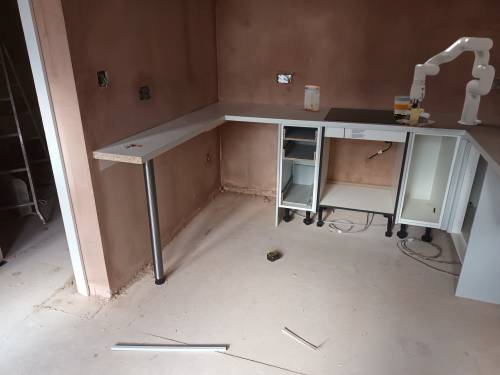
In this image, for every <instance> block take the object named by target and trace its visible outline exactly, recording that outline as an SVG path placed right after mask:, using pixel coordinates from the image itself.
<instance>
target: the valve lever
mask: <svg viewBox="0 0 500 375" xmlns="http://www.w3.org/2000/svg"><path fill="white" fill-rule="evenodd" d="M412 106H413V103H409V104H408V108H409V109H413V108H412ZM420 106H421V104H420V103H418V107H417V109H419V108H420ZM420 109H421V108H420Z"/></svg>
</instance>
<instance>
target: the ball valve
mask: <svg viewBox="0 0 500 375" xmlns="http://www.w3.org/2000/svg"><path fill="white" fill-rule="evenodd" d="M410 109H411V110H409V109H408V110H406V111H405V115H408V116H410V121H414V122H420V121H421V118H425V119H428V120H429V119H430V116H431V114H430V113H428V112H425V109H424V108H419V109H413V108H410Z"/></svg>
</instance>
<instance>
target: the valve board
mask: <svg viewBox="0 0 500 375" xmlns="http://www.w3.org/2000/svg"><path fill="white" fill-rule="evenodd" d="M397 122H398V124H402V123H405V124H404V125H407V124H410V125H409V126H412V125H415V126H414V127H417V126H420V127H419V128H422V127H421V126H423V127H427V126H431V125H434V124H436V121H435V120H431V119H430V120H429V119H425V118H421V121H420V122H414V121H410V116H408V115H406V116H404V118H403V119H402V118H401V119H396V122H395V123H397Z"/></svg>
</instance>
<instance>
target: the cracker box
mask: <svg viewBox="0 0 500 375" xmlns="http://www.w3.org/2000/svg"><path fill="white" fill-rule="evenodd" d="M320 96H321V86H317V85H311V84H310V85H305V86H304V104H303V105H304V106H303V108H304V109H303V110H306V109H307V110H306V111H310V112H319V111H320V110H319V109H320Z"/></svg>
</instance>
